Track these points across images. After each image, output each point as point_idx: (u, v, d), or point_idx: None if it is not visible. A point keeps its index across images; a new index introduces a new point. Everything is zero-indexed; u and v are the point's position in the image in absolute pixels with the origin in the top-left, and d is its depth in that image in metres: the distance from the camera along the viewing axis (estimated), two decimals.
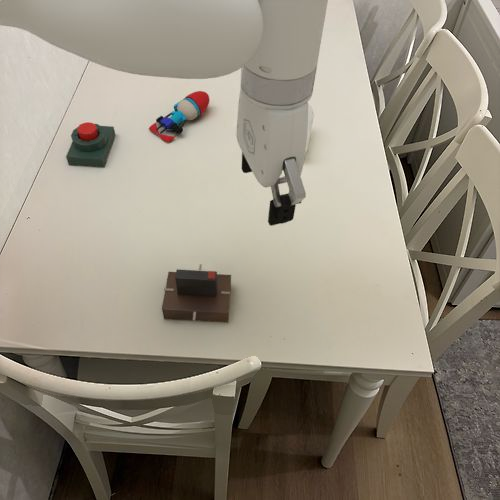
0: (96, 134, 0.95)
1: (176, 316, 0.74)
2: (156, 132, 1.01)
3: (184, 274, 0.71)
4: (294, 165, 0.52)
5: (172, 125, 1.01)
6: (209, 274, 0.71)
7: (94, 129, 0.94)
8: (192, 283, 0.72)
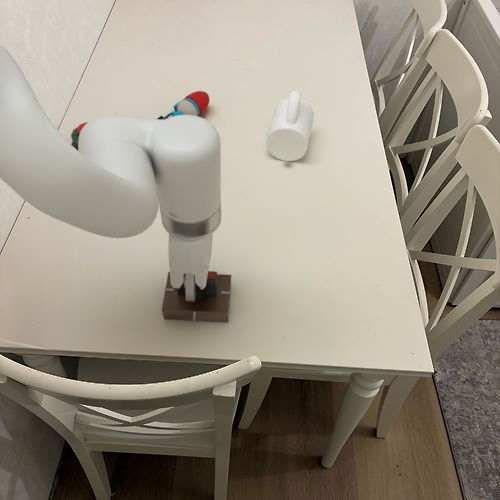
0: None
1: (176, 316, 0.74)
2: None
3: None
4: (192, 281, 0.64)
5: None
6: (209, 274, 0.71)
7: None
8: None
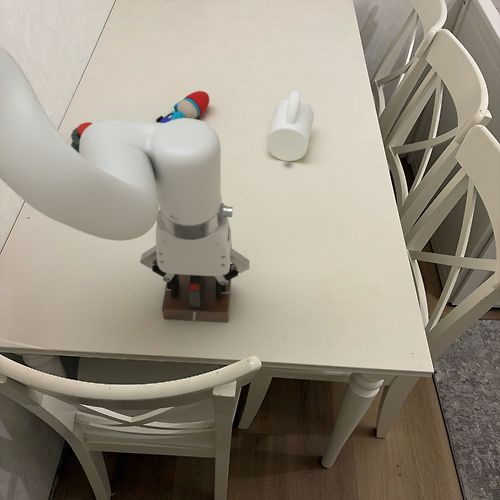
0: None
1: (176, 316, 0.74)
2: None
3: None
4: (154, 250, 0.67)
5: None
6: (194, 284, 0.70)
7: None
8: None
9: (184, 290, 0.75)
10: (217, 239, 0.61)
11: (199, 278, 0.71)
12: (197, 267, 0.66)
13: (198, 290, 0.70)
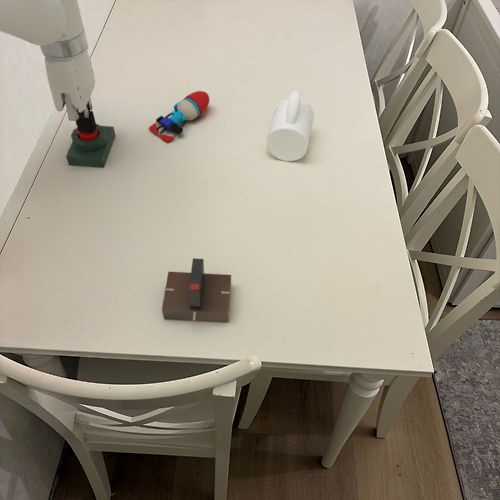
0: (97, 136, 0.95)
1: (176, 316, 0.74)
2: (156, 132, 1.01)
3: (196, 265, 0.72)
4: (70, 102, 0.84)
5: (172, 125, 1.01)
6: (194, 284, 0.70)
7: (95, 131, 0.94)
8: None
9: (184, 290, 0.75)
10: None
11: (199, 278, 0.71)
12: (89, 84, 0.87)
13: (198, 290, 0.70)
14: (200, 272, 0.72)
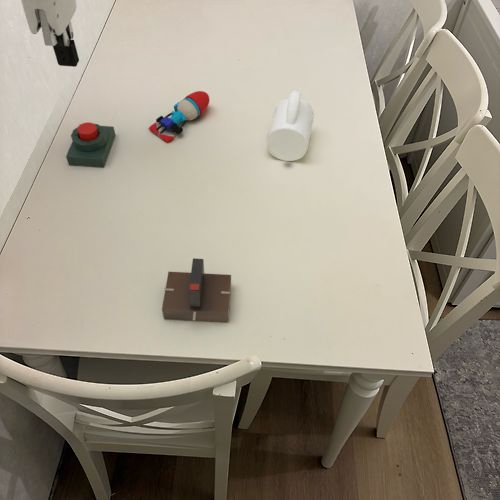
0: (96, 134, 0.95)
1: (176, 316, 0.74)
2: (156, 132, 1.01)
3: (196, 265, 0.72)
4: (46, 22, 0.73)
5: (172, 125, 1.01)
6: (194, 284, 0.70)
7: (94, 129, 0.94)
8: None
9: (184, 290, 0.75)
10: None
11: (199, 278, 0.71)
12: (69, 5, 0.76)
13: (198, 290, 0.70)
14: (200, 272, 0.72)
